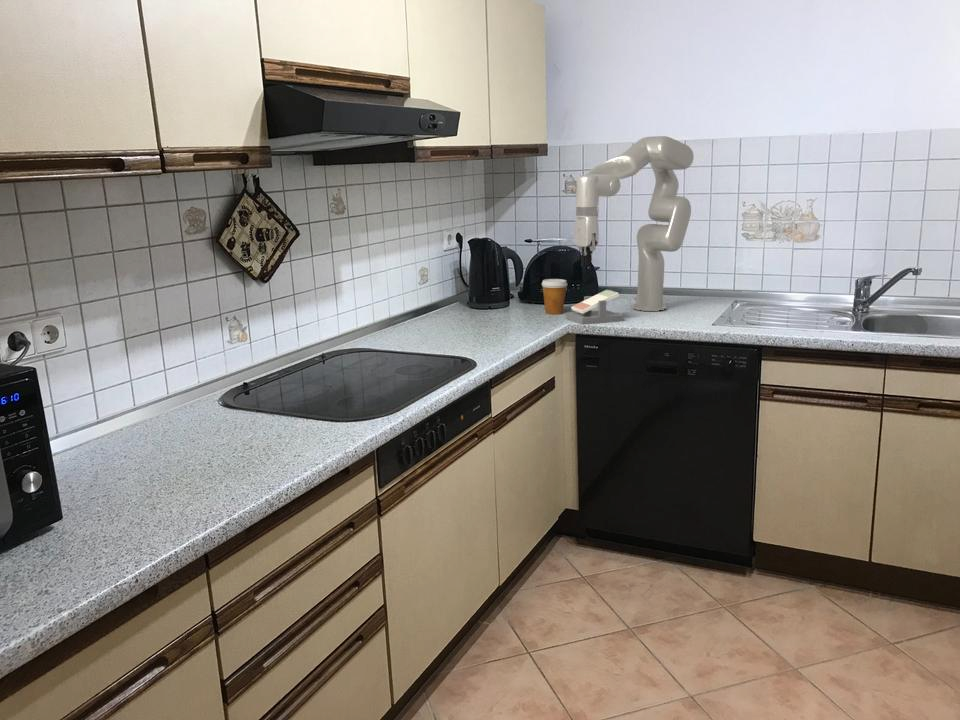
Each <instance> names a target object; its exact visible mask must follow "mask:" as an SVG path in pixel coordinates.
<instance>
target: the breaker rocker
mask: <svg viewBox="0 0 960 720" xmlns="http://www.w3.org/2000/svg"><path fill="white" fill-rule="evenodd" d="M618 297H620V294H619V292H617V291H613V290H611V289H605V290H603V291H601V292H598V293H597V294H595V295H593V296H592V297H591V298H588V299H586V300H584V299H583V301H580V302H579V303H577V304H573V306H571V308H570V309H571V311H574V312H579V313H582V314H583V313H585V312H587V311H589V310H591V311H592V310H593V309H596V308H597V307H598V301H602V300H605V301H606V303H607V302H609V301H611V300H613V299H615V298H618Z"/></svg>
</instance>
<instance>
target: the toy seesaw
mask: <svg viewBox="0 0 960 720" xmlns="http://www.w3.org/2000/svg"><path fill="white" fill-rule="evenodd" d="M591 297H593V296H591V295H589V296H588V295H587V296H584V297H583V301H584V300H586V299H588V298H591ZM597 307H598V309H597V310H592V309H591V310H589V311H587V312H585V313H583V314H582V313H579V312H576V311H574V312H566V315H565V318H566V320H569V321H572V322H575V323H578V324H580V325H590V324H603V323H614V322H616V323H617V322H624V315H623V314H621V313H620V314H619V313H618V312H614V311H610V310H607V302H606V301H605V300H602V301H598V306H597Z"/></svg>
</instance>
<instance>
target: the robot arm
mask: <svg viewBox="0 0 960 720" xmlns="http://www.w3.org/2000/svg"><path fill="white" fill-rule="evenodd" d="M694 156H695V155H694V151H693V150H692V148H691V147H690V146H689V145H687V144H685V143H683V142H681V141H679V140H676V139H675V138H672V137H670V136H666V135H659V136H645V137H642V138H640V139H639V140H637V141H636V142H635V143H634V144H633V145H631V146H630V147H629V148H627V149H626V150H625V151H623V152H622V153H621V154H619V155H618V156H615V157H613V158H611V159H608V160H606V161H604V162H601V163H600V164H598V165H596V166H594V167H593V168H592V169H590V170H589V171H588V172H586V173H585V175H584V174H583V175H579V176H577V178H576V193H575V194H576V195H575V197H576V198H575V199H576V201H575V206H576V207H575V222H574V228H573V244H574V245H575V246H576V247H577V248H578V249H580V250H579V251H580V252H579V253H580V267H582V268H591V267H592V263H593V262H592V257H593V252H595V251H596V250H597V249H596V247H597V246H598V245H599V237H600V234H599V219H598V218H599V211H600V210H599V208H600V207H599V206H600V205H599V200H600V199H599V198H600V197H601V198H603V197H604V198H605V197H607V198H608V197H609V198H610V197H614V196H616V195H617V194H618V192H619V191H620V190H621V181H620V180H624V179H626V178H627V179H628V178H630V177H634V176H636V174H638V173H639V172H640V171H641V170H642V169H644V167H646V166H648V164H650V166H651V168H652V171H653V174H654V178H655V185H654V189H653V192H652V195H651V198H650V199H651V200H650V203H649V207H648V213H647V214H648V217H649V219H650V220H652V221H653V222H658V223H657V224H656V223H649V224H644V225H642V226H640V228H639V229H638V230H637V233H636V245H637V251H638V268H637V292H636V296H634V297H633V300H634V301H636V303H634V304H632V307H631V308H632V309H633V310H635V309H636V310H637V311H640V310H641V312H642V311H643V312H660V311H659V310H663V311H665V310H664V309H666V310H667V305H665V304H663V301H664V299H663V298H664V282H665V281H664V280H665V278H664V277H665V258H664V255H663V254H662V252H668V253H669V252H670V253H672V252H677V251H678V250H679V249H681V248H682V245H683V244H684V243H683V242H684V240H685V236H686V233H687V230H688V226H689V222H690V219H691V214H692V206H691V202H690V200H689V199H688V198H687V197H685V196H680V195H678V194H677V193H678V191H679V185H680V183H679V179H678V177H677V175H676V173H675V171H677V170H678V171H681V170H687V169H689V168H690V167H691V166H692V164H693V162H694ZM659 223H660V224H659ZM661 223H668V224H661Z"/></svg>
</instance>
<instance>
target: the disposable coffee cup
mask: <svg viewBox="0 0 960 720" xmlns="http://www.w3.org/2000/svg"><path fill="white" fill-rule="evenodd" d="M541 286H542V291H543V292H542V293H543V301H544V302H543V303H544V310H545V311H544V312H545V314H547V315H562V314H563V312H564V307H565V299H566V298H565V297H566V292H567V287H568V282H567V280H566V279H561V278H547V279H543V280H542V282H541Z"/></svg>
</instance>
